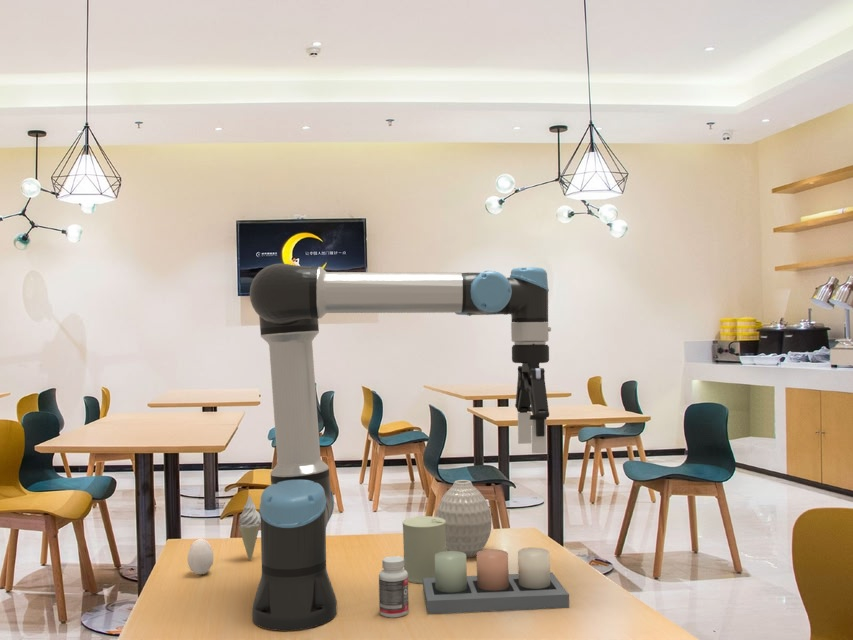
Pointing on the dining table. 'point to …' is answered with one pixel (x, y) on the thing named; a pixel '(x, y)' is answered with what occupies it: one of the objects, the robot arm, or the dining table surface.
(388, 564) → the pill bottle
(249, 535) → the ice cream cone
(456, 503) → the vase
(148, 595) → the dining table surface
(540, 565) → the cream cylinder
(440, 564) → the pale green round piece
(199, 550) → the egg
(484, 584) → the pink cylinder
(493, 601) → the board
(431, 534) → the can
